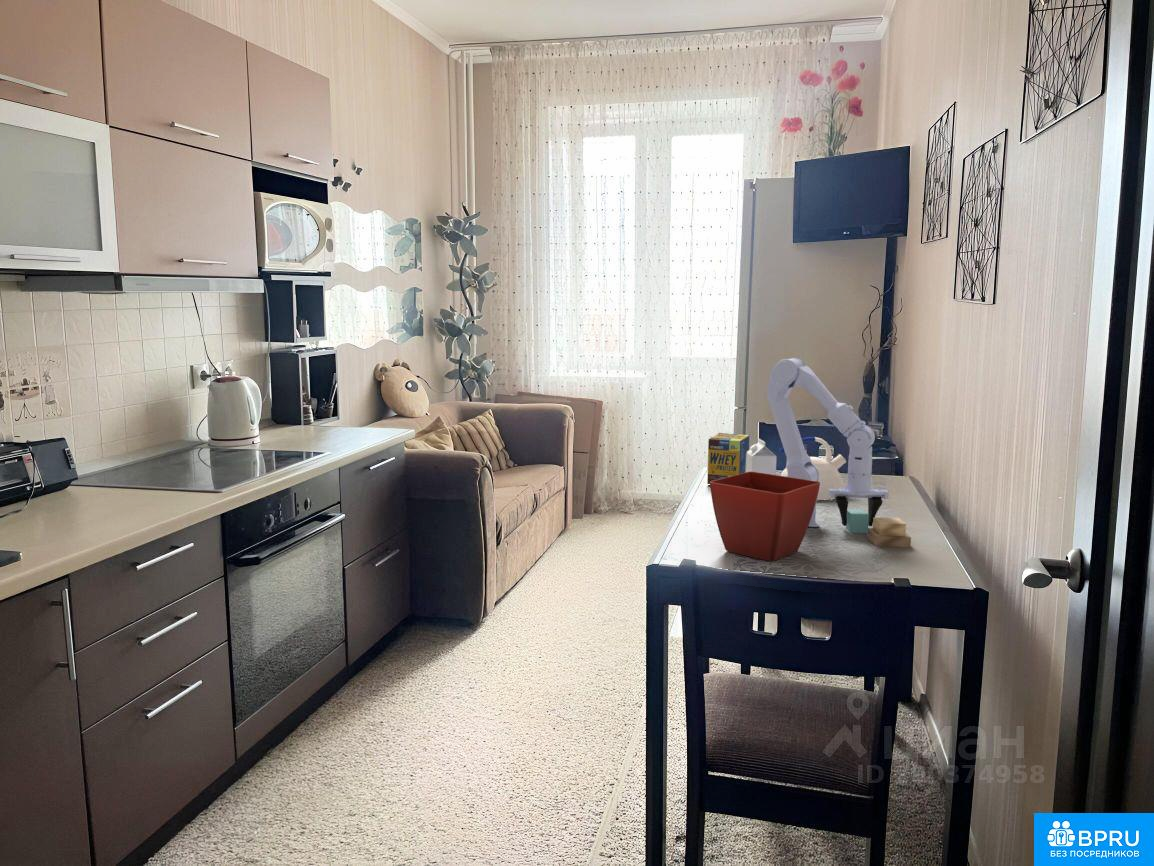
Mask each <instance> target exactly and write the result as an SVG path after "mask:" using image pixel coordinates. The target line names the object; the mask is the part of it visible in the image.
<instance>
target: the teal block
mask: <svg viewBox="0 0 1154 866" xmlns="http://www.w3.org/2000/svg"><path fill="white" fill-rule="evenodd" d="M868 522H869V514H868V511H866V510H864V509H847V525H846V526H845V529H846V531H848V532H849V533H851V534H868V528H869V525H868Z"/></svg>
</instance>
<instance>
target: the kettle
mask: <svg viewBox="0 0 1154 866" xmlns="http://www.w3.org/2000/svg"><path fill="white" fill-rule="evenodd" d="M801 439H802V442H803V443H806V442H817V443H820V444H821V445H823V447H824V450H825V455H824V456H825V457H824V458H821V457H818V456H809V457H810V459H811V462H812V464H813V465H814V466H815V467H816V468H817V470H818V472H819V479H818V481H817V482H820V487H819V492H818V496H817V500H824V499H825V500H828V499H835V498H830V497H829V489H843V488H845V482H844V480H843V476H842V475H841V473H840V472H839V469H840V468H841V467H842V466H843V465H844V464H846V463H847V460H846V458H845V457H844V456H843V455H842V454H840V453H839V454H838V455H837V456H836V457H834V458H833V459H832V456H833V455H832V454H833V452H832V449H831V446H830V445H829V443H828V442H827V441H825V440H824V439H823V438H820V437H816V436H808V437H801ZM778 450H779V451H780V452H782V453H785V451H784V448H783V446H782V447H780V448H779V449H778ZM780 476H785V477H787V476H788V471H787V468H786V467H785V468H784V469H783V470H782V472H781V474H780Z"/></svg>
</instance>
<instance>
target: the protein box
mask: <svg viewBox="0 0 1154 866" xmlns="http://www.w3.org/2000/svg"><path fill="white" fill-rule="evenodd" d="M707 442H708V446H707V447H708V448H707V449H708V451H707V483H706V485H707V484H710V481H713V480H717V479H721V478H725V477H729V476H733V475H737V474H741V473H745V472H746V457H747V452H748V451H749V450H750V435H748V434H739V433H738V434H737V433H726V432H724V433H723V432H719V433H717V434H715V435H713V436H711V437H710V438H708V441H707Z"/></svg>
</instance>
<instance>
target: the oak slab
mask: <svg viewBox="0 0 1154 866" xmlns="http://www.w3.org/2000/svg"><path fill="white" fill-rule="evenodd" d="M872 528H873V530H874V531H875V532H876V533H878V534H879V535H880V536H905V533H906V531H907V523H906V522H905V521H903V520H901V519H900V518H899V517H875V518H873V525H872Z"/></svg>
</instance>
